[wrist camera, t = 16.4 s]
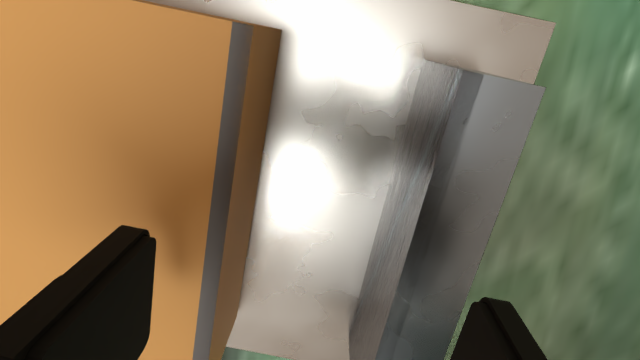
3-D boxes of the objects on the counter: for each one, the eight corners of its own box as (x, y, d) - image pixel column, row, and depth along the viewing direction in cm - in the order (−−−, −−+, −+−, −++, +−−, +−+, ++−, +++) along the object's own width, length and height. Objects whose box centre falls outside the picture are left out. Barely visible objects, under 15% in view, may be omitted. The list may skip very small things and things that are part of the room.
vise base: (539, 23, 15) (667, 15, 9) (419, 365, 20) (450, 499, 14) (75, -75, 15) (-101, -150, 9) (76, 298, 20) (-35, 407, 14)
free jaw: (281, 29, 14) (253, 26, 9) (236, 316, 18) (201, 410, 13) (78, -14, 14) (-49, -38, 9) (77, 285, 18) (-12, 369, 13)
